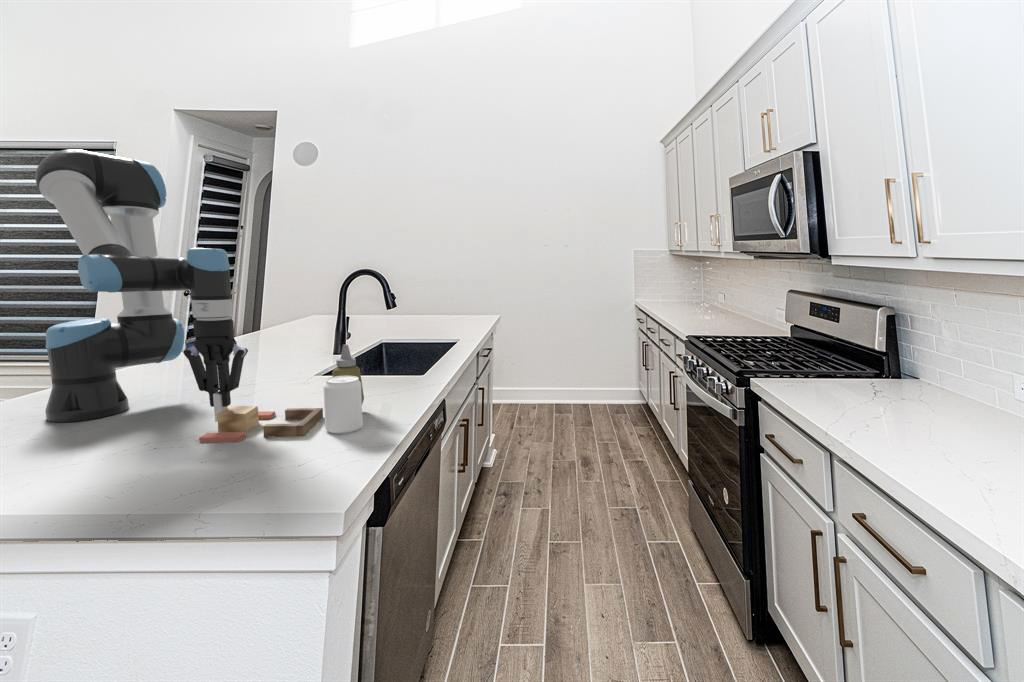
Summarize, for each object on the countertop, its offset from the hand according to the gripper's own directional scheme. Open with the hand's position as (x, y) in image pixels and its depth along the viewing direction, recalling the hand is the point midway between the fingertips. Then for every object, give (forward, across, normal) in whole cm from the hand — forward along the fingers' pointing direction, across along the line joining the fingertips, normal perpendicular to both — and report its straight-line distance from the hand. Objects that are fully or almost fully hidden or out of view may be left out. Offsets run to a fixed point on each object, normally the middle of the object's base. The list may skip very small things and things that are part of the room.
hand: (221, 419), depth 103 cm
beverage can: (+2, +28, -2) cm, 28 cm away
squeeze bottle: (+2, +26, +10) cm, 28 cm away
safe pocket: (+2, +16, 0) cm, 16 cm away
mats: (+2, +4, 0) cm, 4 cm away
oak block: (+2, +4, 0) cm, 4 cm away
